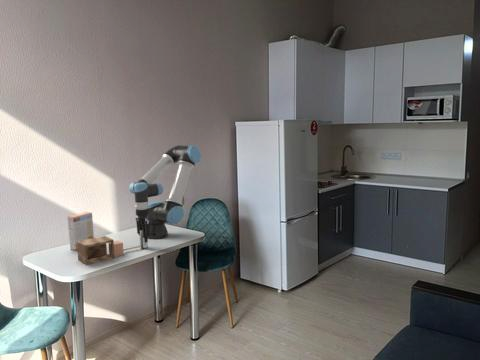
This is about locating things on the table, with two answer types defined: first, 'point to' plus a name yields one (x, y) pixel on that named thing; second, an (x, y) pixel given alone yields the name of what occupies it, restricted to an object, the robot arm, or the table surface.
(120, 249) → the u-shaped stand
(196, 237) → the table surface
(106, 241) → the cubby
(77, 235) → the cracker box
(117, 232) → the table surface
